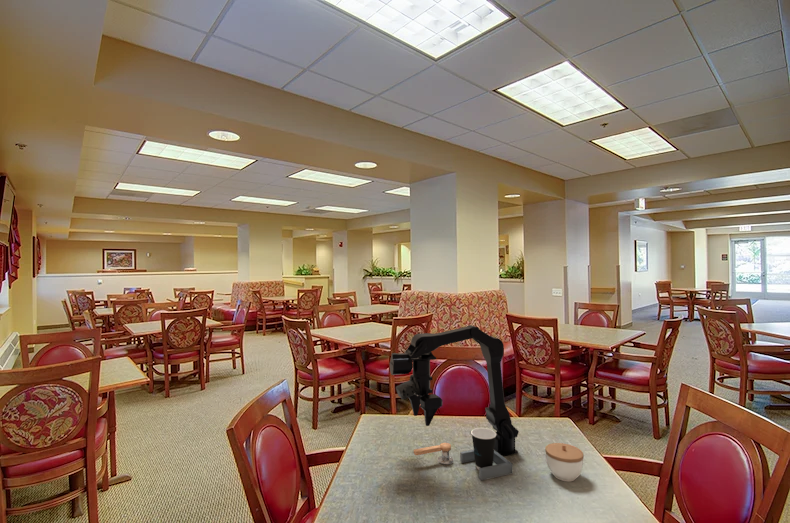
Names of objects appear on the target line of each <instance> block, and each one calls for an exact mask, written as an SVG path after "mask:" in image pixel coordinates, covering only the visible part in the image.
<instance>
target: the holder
mask: <svg viewBox="0 0 790 523" xmlns="http://www.w3.org/2000/svg"><path fill="white" fill-rule="evenodd" d="M459 453H460V454H459V455H460V458H459V460H460V461H459V462H460V463H461V464H462V463H468V462H469V463H470V462H475V457H474V448H473V449H469V450H468V449H467V450H463V451H460V452H459ZM493 463H494V464H493V466H488V467H483V468H479V470H478V479H479V480H480V481H485V480H489V479H493V478H498V477H502V476H507V475H513V463H512V462H511V461H510V460H508V459H507V458H506V457H505V456H502V455H500V454H499V453H498V452H496V451H495V450H494V457H493Z"/></svg>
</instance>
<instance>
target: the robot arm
mask: <svg viewBox="0 0 790 523" xmlns="http://www.w3.org/2000/svg"><path fill="white" fill-rule="evenodd" d="M471 339H473V341H475V342H476V343H477V344H478V345H479V347H480V350H481V353H482V356H483V358H484V360H485V362H486V370H487V378H488V379H487V380H488V389H489V390H488V391H489V396H490V397H489V399H490V403H489V405H488V406H487V407H485V408H484V409H485V413H486V414H485V419H486V420H487V422H488V423H489V424H490V425H491V426H492V430H495V432H496V434H497V435H496V437H495V447H494V450H495V451H496V452H498V453H499V454H500V455H501V456H503V457H506V456H509V455H510V456H511V455H516V454H519V451H518V450H517V449H516V438H518V435H519V432H520V431H519V430H518V429H517V428H516V427H515V426H514V425H513V423H512V418H511V415H510V412H509V410H508V408H507V405H506V403H505V395H504V382H503V376H502V375H503V373H502V366H501V362H502V360H503V358H504V349H505V348H504V347H505V345H504V343H503V341H502V340H501V339H500V338H497V337H494V336H492V335H489V334H488V333H486V332H484V331H483V330H481V329H480V328H479V327H478V326H475V325H472V324H469V325H467V326H464V327H460V328H459V327H458V328H455V329H451V330H447V331H441V332H436V333H432V332H431V333H429V332H425V333H423V332H422V333H416V334H414V335H413V336H412V338H411V341H410V344H409V345H408V347H407V348H406V350H405V351H404V353H403V352H401V353H398V352H397V353H396V352H391V354H390V355H391V357H390V360H389V371H390V375H391V376H396V375H397V376H399V375H409V374H410V373H412V374H411V375H409V380H406V381H404V382H402V383H400V384H399V385H396V386H395V391H396V393H397V396H398V398H400V399H401V400H406V399H409V402H410V406H411V409H412V410H411V411H412V414H413V416H414V417H417V416H418V414H419V411H420V408H421V409H422V410H423V415H424V423H425V426H426V427H429V426H430V425H431V424H432V421H433V419H434V417H435V415H436V412H438V410H439V408H442V406H443V399H442V398H441V397H440V396H438V395H437V394H436V393H433V389H432V388H431V381H433V376H431V360H437V357H436V356H435V355H434V354H433V351H436V350H438V348H440V347H442V346H446V345H451V344H454V343H458V342H459V343H460V342H464V341H467V340H471ZM432 393H433V394H432Z"/></svg>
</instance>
